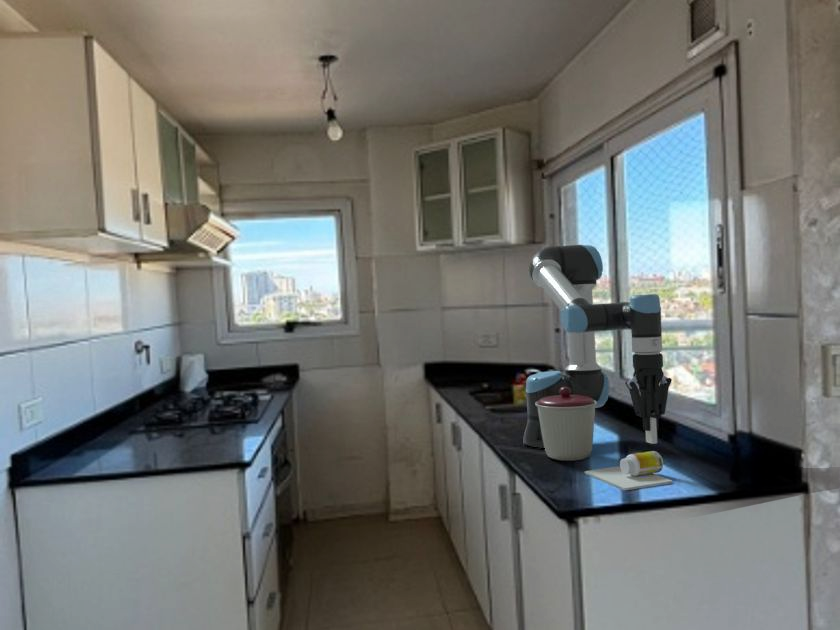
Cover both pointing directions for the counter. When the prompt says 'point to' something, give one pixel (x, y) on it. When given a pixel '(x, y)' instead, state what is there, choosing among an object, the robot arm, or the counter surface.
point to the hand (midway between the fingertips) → (651, 442)
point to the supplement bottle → (642, 463)
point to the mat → (627, 478)
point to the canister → (567, 425)
